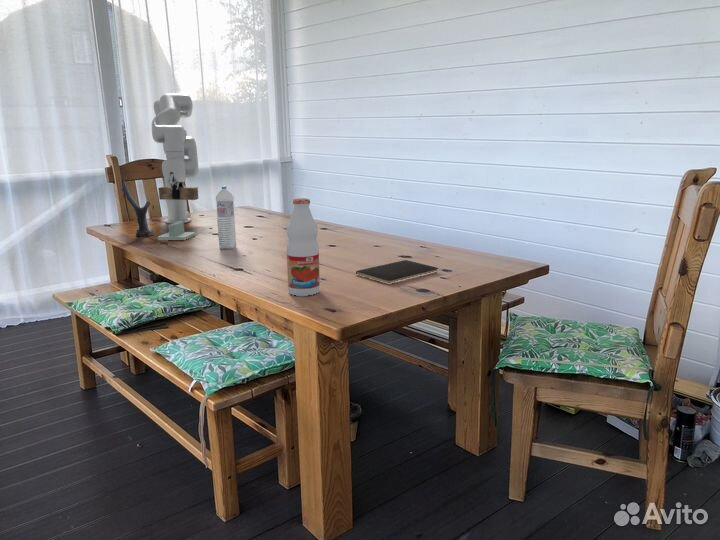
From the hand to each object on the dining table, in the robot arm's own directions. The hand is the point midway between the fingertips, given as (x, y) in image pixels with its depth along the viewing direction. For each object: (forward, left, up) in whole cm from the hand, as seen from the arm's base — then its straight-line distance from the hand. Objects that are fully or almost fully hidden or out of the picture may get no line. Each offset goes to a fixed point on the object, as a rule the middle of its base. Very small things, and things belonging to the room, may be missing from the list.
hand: (178, 197), depth 253 cm
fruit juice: (+77, +74, -18) cm, 108 cm away
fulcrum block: (+2, -1, -17) cm, 18 cm away
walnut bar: (0, 0, -1) cm, 1 cm away
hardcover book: (+52, +100, -18) cm, 114 cm away
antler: (0, -19, -18) cm, 26 cm away
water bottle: (+20, +29, -18) cm, 39 cm away
